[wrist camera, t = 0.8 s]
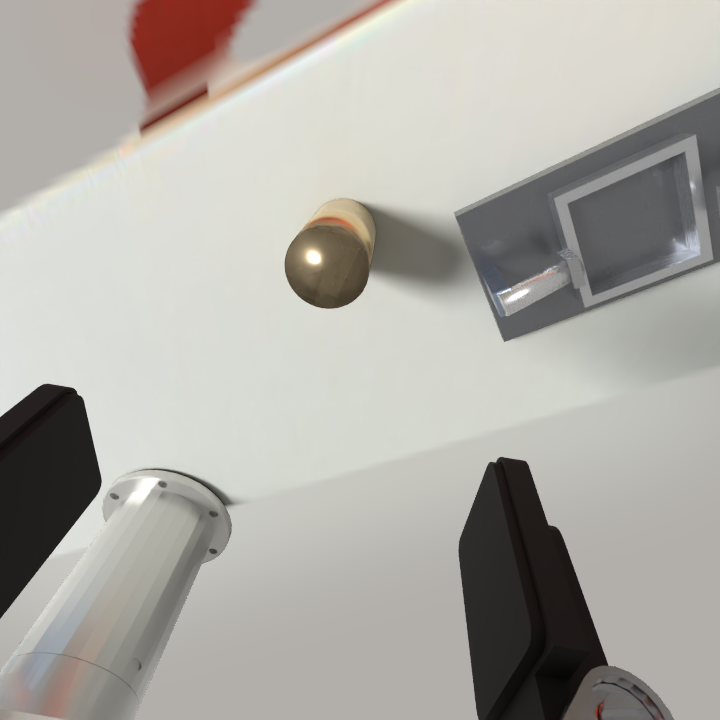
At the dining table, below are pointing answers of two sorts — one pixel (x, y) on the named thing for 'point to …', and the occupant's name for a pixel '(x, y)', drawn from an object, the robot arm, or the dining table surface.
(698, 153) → the coupling stand
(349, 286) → the cylinder
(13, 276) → the dining table surface
